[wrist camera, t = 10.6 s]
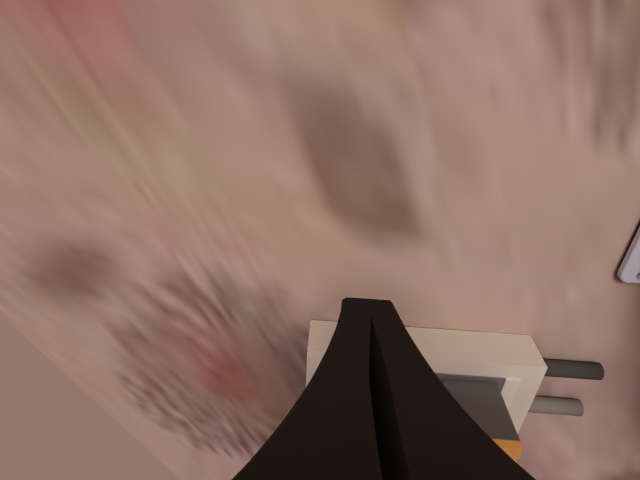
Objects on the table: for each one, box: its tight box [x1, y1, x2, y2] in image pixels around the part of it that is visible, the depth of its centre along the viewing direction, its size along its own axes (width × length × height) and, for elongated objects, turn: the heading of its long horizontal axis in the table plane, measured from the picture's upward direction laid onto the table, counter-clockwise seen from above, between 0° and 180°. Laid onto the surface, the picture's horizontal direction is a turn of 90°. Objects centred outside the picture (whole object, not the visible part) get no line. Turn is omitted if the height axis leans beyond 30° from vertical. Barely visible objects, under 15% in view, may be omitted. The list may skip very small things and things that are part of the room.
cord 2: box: [528, 396, 584, 416], centre depth 26 cm, size 5×1×1 cm, turn 87°
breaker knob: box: [441, 379, 523, 463], centre depth 22 cm, size 3×4×4 cm, turn 178°
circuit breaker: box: [306, 320, 548, 434], centre depth 25 cm, size 13×8×3 cm, turn 87°
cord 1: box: [543, 359, 604, 380], centre depth 25 cm, size 5×1×1 cm, turn 87°
